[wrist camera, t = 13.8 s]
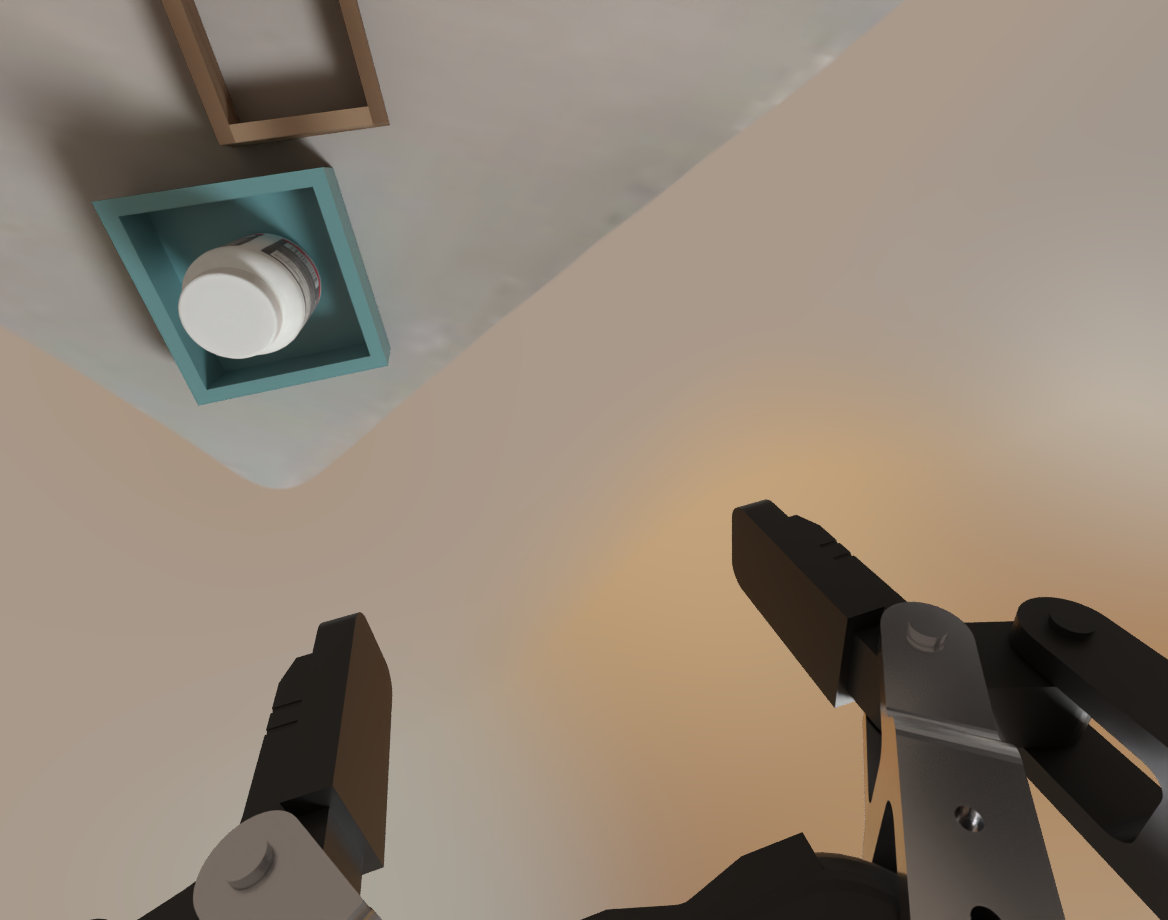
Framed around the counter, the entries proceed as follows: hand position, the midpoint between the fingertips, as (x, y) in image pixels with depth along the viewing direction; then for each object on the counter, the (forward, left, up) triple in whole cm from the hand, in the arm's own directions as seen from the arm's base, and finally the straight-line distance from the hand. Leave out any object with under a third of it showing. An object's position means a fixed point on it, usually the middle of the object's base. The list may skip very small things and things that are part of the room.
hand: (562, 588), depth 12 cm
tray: (+11, -3, -30) cm, 32 cm away
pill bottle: (+11, -4, -30) cm, 32 cm away
